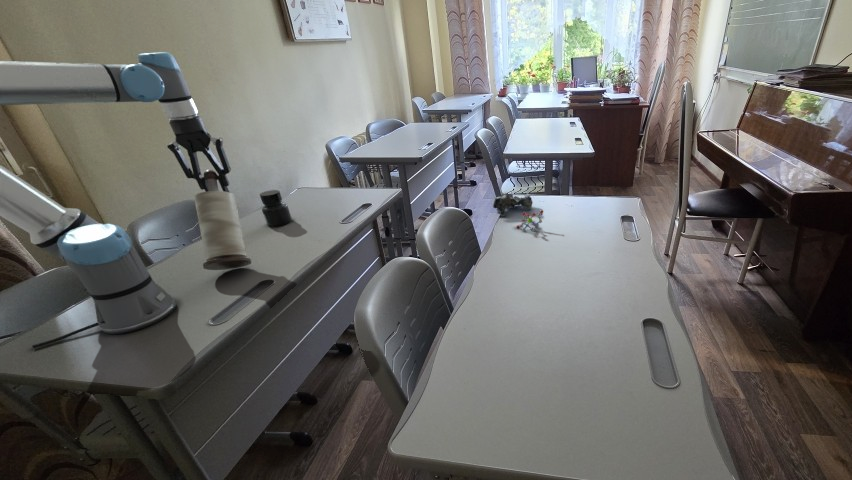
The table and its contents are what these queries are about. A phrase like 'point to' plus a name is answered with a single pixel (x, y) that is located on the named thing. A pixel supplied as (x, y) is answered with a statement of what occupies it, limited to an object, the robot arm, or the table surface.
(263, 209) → the ink bottle
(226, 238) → the towel holder
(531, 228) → the molecular model
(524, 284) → the table surface
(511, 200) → the dark grey lumpy piece
